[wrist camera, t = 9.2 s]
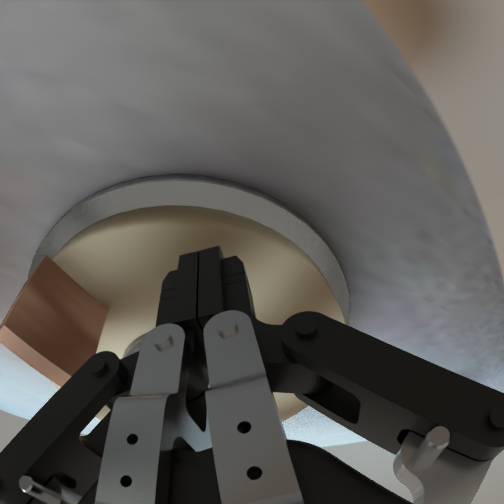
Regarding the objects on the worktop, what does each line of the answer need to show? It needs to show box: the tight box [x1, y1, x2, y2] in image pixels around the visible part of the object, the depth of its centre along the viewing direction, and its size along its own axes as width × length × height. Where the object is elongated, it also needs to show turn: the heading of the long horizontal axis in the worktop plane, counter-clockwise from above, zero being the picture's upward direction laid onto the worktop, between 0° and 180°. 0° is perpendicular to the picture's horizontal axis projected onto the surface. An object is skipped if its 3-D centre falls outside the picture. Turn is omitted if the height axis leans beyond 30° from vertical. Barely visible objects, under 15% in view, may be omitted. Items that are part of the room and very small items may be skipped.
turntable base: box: [28, 174, 350, 325], centre depth 20 cm, size 21×21×1 cm
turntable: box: [0, 205, 345, 421], centre depth 16 cm, size 20×19×6 cm
